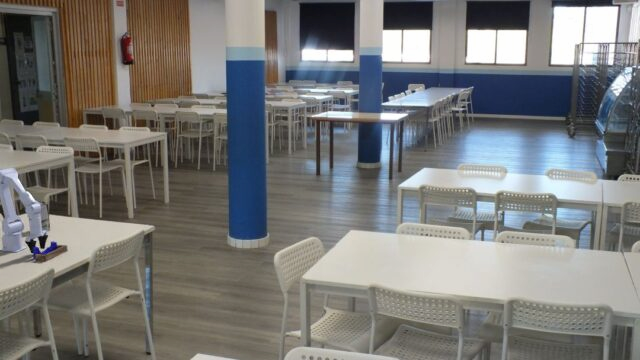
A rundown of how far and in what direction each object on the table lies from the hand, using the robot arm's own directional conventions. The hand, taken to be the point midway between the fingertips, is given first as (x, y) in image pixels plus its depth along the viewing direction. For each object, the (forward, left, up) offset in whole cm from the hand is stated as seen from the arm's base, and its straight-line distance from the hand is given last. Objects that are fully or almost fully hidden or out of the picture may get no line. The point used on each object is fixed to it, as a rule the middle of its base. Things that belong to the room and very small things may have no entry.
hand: (37, 250), depth 345 cm
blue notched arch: (+4, 0, -2) cm, 5 cm away
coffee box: (-27, +39, -2) cm, 48 cm away
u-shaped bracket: (+8, 0, -2) cm, 9 cm away
